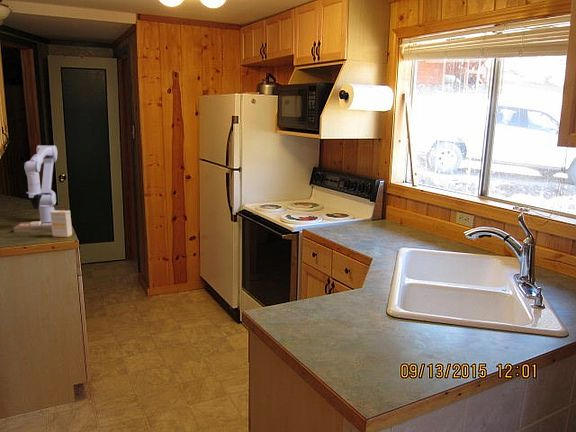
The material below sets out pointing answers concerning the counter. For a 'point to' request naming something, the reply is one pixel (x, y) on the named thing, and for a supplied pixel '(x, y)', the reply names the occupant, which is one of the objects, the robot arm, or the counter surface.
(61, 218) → the supplement box
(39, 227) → the key panel
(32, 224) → the cream key
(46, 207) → the robot arm
